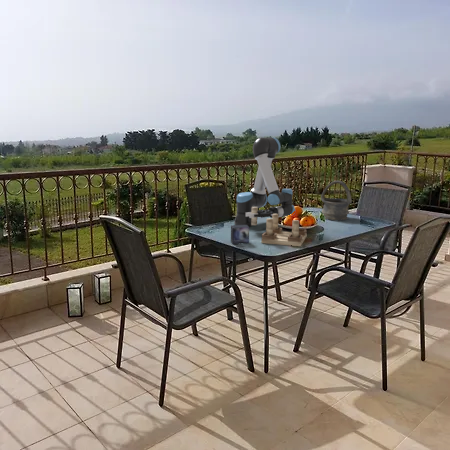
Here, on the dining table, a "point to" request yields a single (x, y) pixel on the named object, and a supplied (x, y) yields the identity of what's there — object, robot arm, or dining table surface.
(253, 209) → the loose leg
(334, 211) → the wicker basket
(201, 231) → the dining table surface
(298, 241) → the upturned wooden stool
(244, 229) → the small box
